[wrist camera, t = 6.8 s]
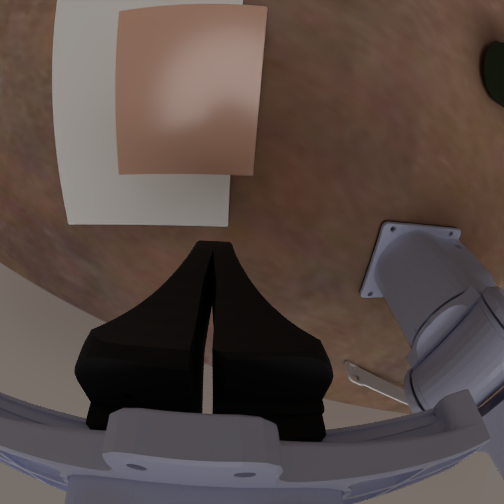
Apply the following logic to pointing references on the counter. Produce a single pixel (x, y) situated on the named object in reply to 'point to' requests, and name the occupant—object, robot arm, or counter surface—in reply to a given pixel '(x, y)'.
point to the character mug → (495, 71)
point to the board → (114, 130)
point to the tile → (188, 88)
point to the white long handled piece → (374, 383)
